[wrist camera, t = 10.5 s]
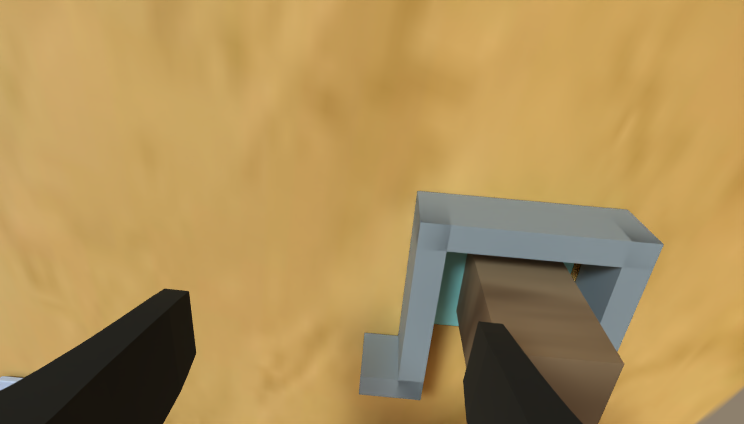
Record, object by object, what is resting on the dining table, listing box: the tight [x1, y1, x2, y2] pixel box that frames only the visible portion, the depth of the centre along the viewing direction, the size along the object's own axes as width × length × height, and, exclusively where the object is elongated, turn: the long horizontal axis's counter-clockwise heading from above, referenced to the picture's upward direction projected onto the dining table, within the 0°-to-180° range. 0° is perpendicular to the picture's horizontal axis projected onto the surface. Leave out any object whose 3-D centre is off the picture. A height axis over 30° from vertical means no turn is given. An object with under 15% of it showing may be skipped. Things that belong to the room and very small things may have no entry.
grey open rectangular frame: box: [359, 191, 664, 400], centre depth 23 cm, size 18×11×3 cm, turn 176°
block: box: [456, 253, 624, 424], centre depth 18 cm, size 4×4×7 cm
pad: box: [434, 252, 574, 326], centre depth 22 cm, size 6×6×1 cm
